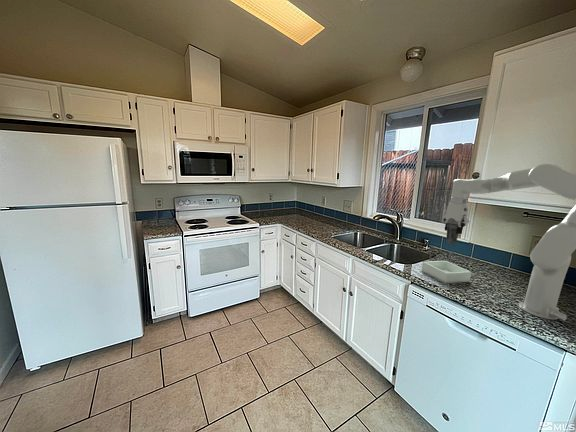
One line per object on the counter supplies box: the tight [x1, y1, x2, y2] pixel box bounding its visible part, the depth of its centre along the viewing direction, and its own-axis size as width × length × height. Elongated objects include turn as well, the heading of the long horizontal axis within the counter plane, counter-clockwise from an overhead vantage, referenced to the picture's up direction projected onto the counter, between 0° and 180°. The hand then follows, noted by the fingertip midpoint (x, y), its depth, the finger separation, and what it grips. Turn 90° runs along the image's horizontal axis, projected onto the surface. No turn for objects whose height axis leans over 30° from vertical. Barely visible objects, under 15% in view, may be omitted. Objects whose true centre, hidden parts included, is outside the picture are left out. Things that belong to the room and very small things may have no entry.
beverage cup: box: [445, 218, 459, 245], centre depth 134 cm, size 7×7×20 cm
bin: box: [421, 260, 472, 284], centre depth 139 cm, size 17×17×6 cm
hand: (452, 231), depth 134 cm, fingers closed on beverage cup, 6 cm apart
